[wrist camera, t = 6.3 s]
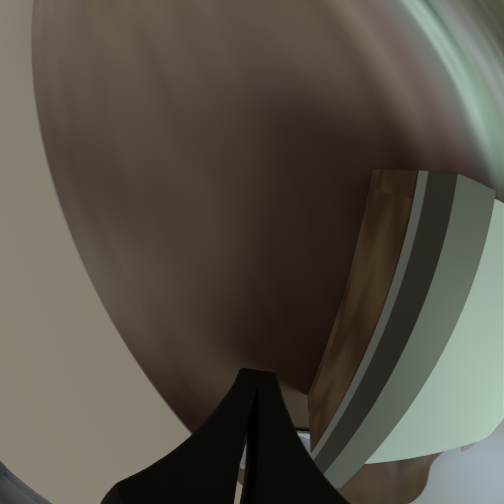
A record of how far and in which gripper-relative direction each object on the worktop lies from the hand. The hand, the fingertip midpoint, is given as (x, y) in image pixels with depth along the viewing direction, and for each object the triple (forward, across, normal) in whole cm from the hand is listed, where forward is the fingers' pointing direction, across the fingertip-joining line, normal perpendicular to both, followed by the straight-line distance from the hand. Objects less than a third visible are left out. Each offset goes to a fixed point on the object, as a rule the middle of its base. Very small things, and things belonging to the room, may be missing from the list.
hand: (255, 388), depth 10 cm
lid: (+2, -14, 0) cm, 14 cm away
